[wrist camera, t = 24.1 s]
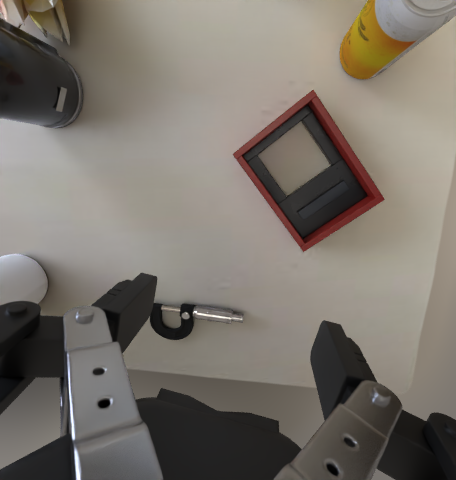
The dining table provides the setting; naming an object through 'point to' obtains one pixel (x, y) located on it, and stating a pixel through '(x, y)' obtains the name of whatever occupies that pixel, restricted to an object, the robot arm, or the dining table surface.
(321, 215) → the red picture frame
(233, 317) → the micrometer
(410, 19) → the lager tin can
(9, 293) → the bottle
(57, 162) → the dining table surface
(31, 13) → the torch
